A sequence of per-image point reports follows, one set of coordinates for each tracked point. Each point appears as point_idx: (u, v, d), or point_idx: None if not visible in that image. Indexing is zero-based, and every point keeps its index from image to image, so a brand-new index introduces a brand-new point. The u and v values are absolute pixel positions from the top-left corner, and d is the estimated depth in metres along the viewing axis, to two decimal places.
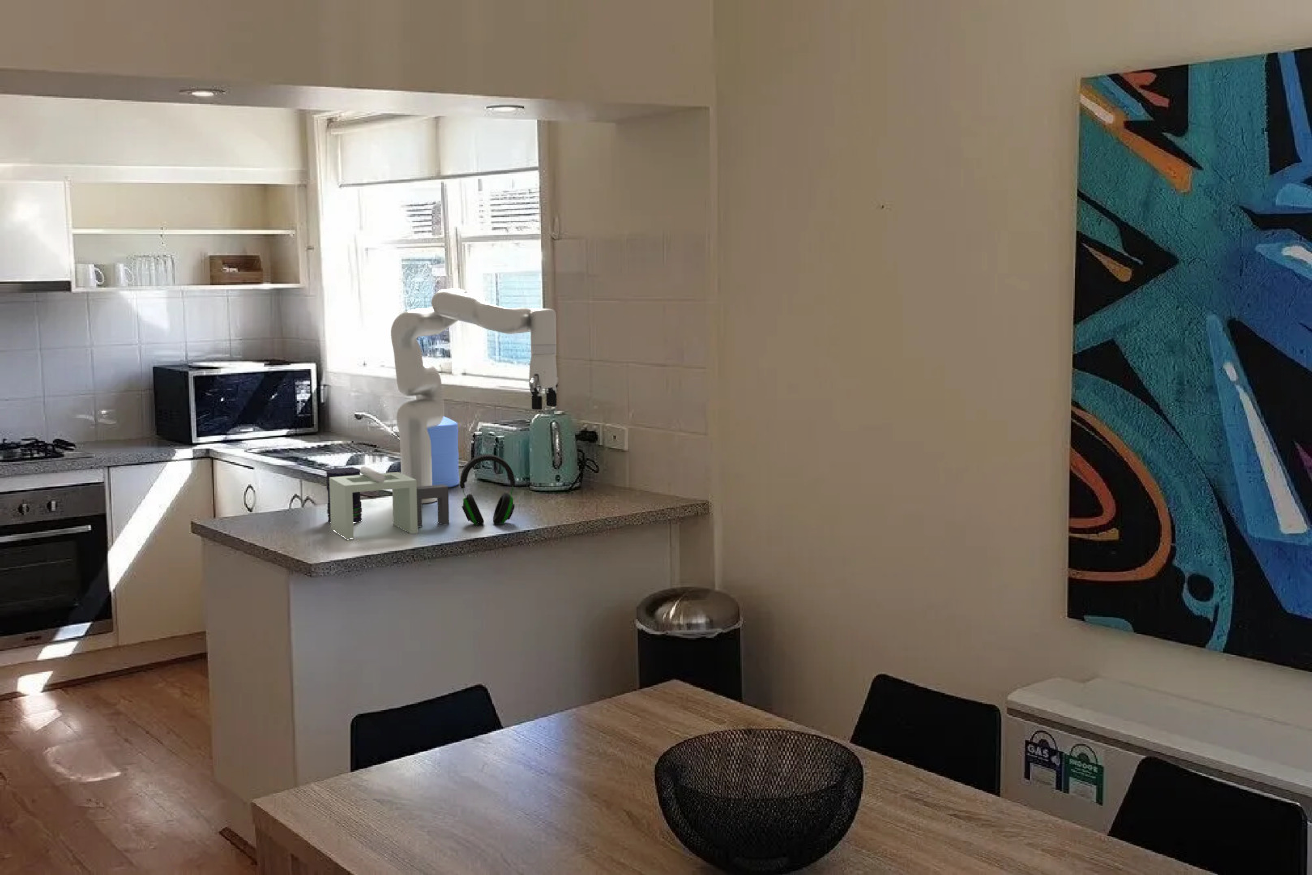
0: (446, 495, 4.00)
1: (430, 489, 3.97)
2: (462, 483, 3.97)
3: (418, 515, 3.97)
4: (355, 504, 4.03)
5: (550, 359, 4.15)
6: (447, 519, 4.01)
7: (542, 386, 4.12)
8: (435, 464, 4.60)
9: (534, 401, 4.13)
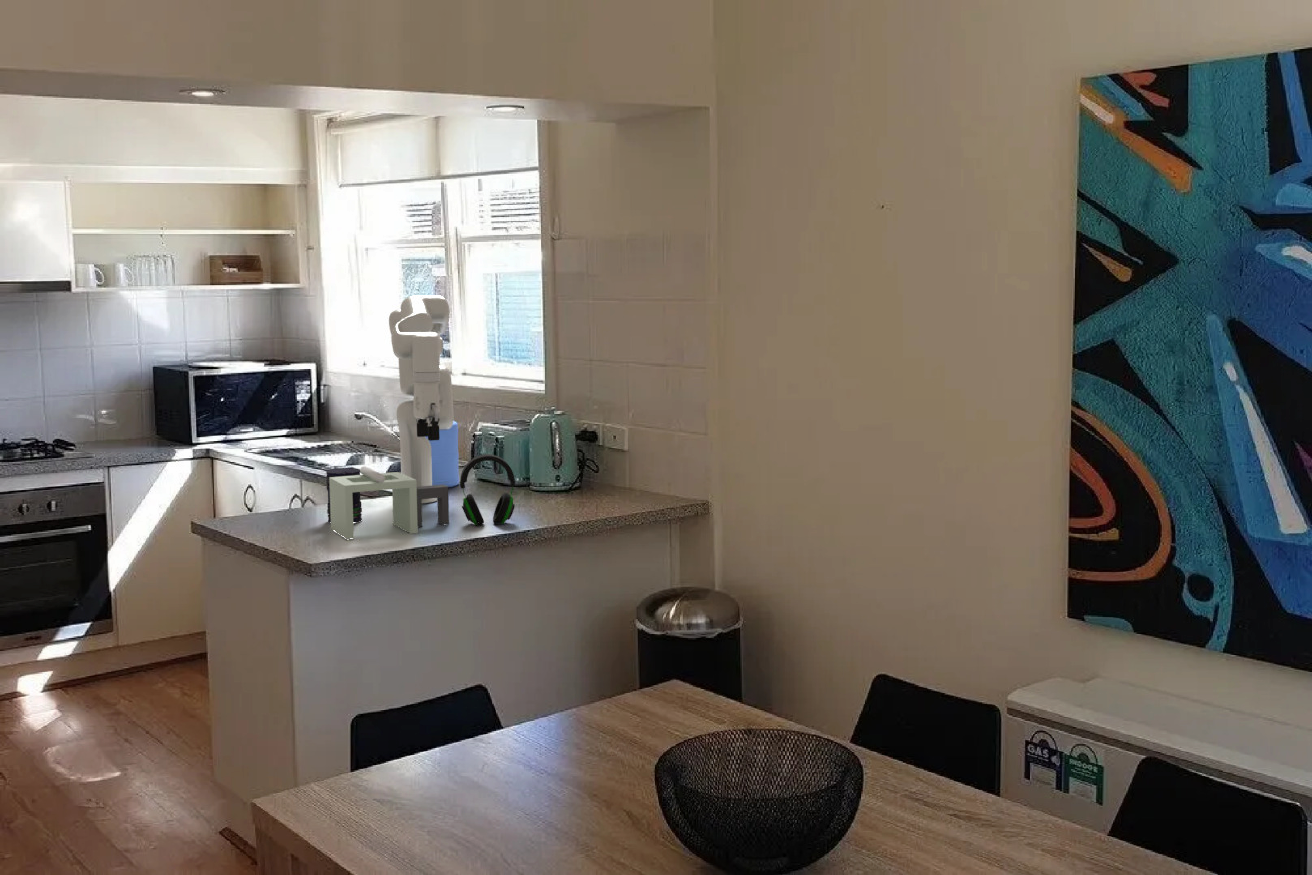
0: (446, 495, 4.00)
1: (430, 489, 3.97)
2: (462, 483, 3.97)
3: (418, 515, 3.97)
4: (355, 504, 4.03)
5: None
6: (447, 519, 4.01)
7: (438, 415, 3.93)
8: (435, 464, 4.60)
9: (433, 432, 3.92)
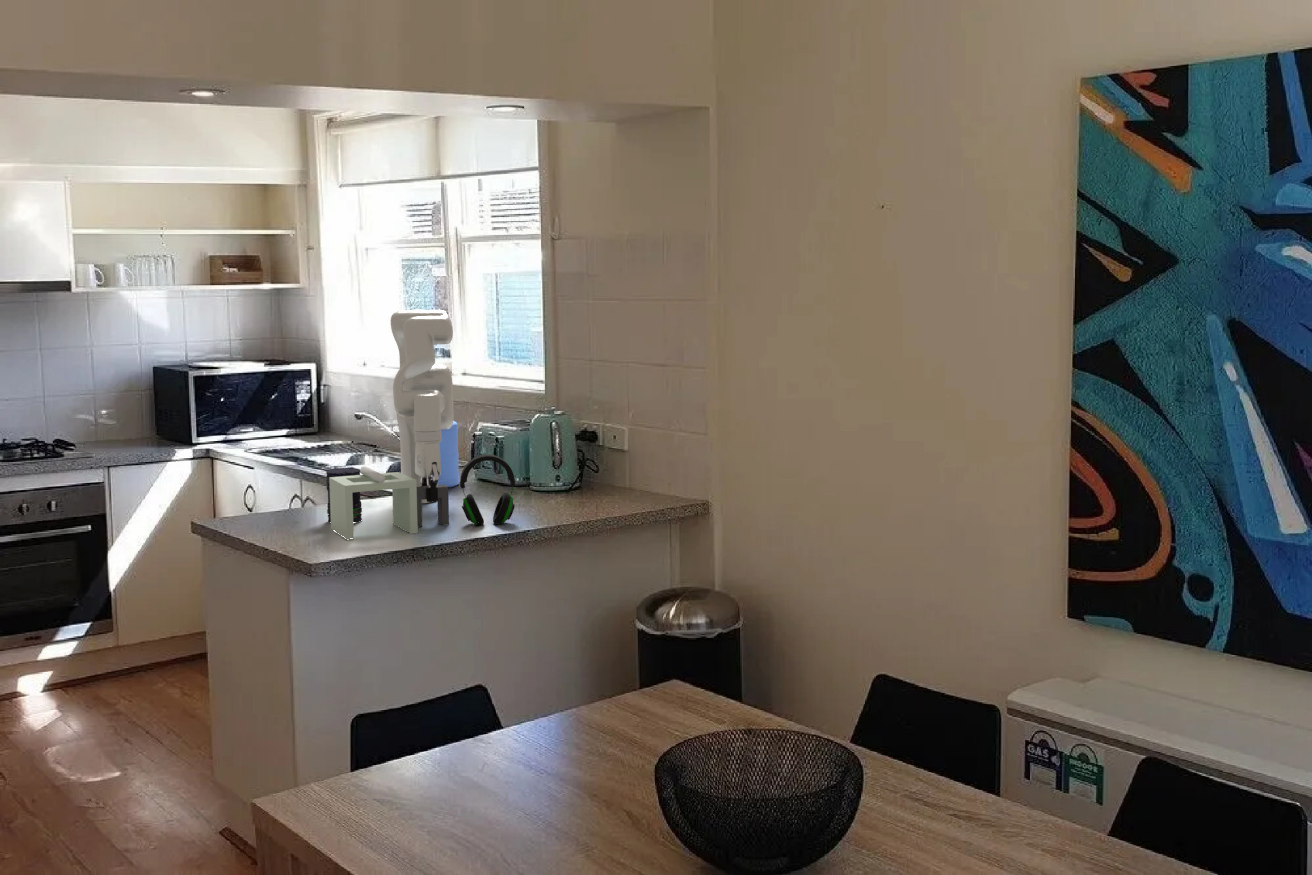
0: (446, 495, 4.00)
1: None
2: (462, 483, 3.97)
3: (418, 515, 3.97)
4: (355, 504, 4.03)
5: None
6: (447, 519, 4.01)
7: (440, 474, 3.96)
8: None
9: (432, 493, 3.96)
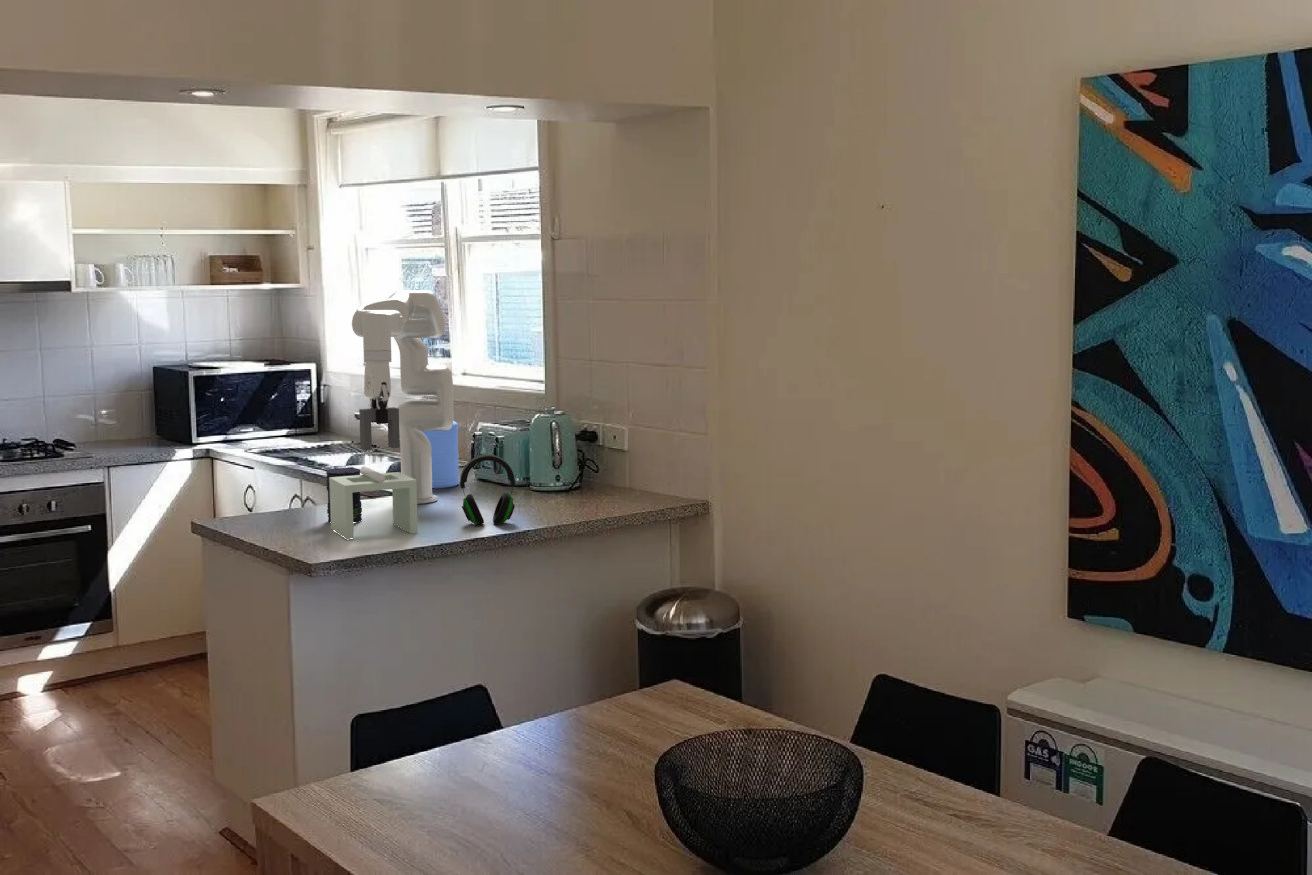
0: (397, 418, 3.89)
1: None
2: (462, 483, 3.97)
3: (367, 437, 3.85)
4: (355, 504, 4.03)
5: None
6: (398, 442, 3.90)
7: None
8: (435, 464, 4.60)
9: (381, 415, 3.85)
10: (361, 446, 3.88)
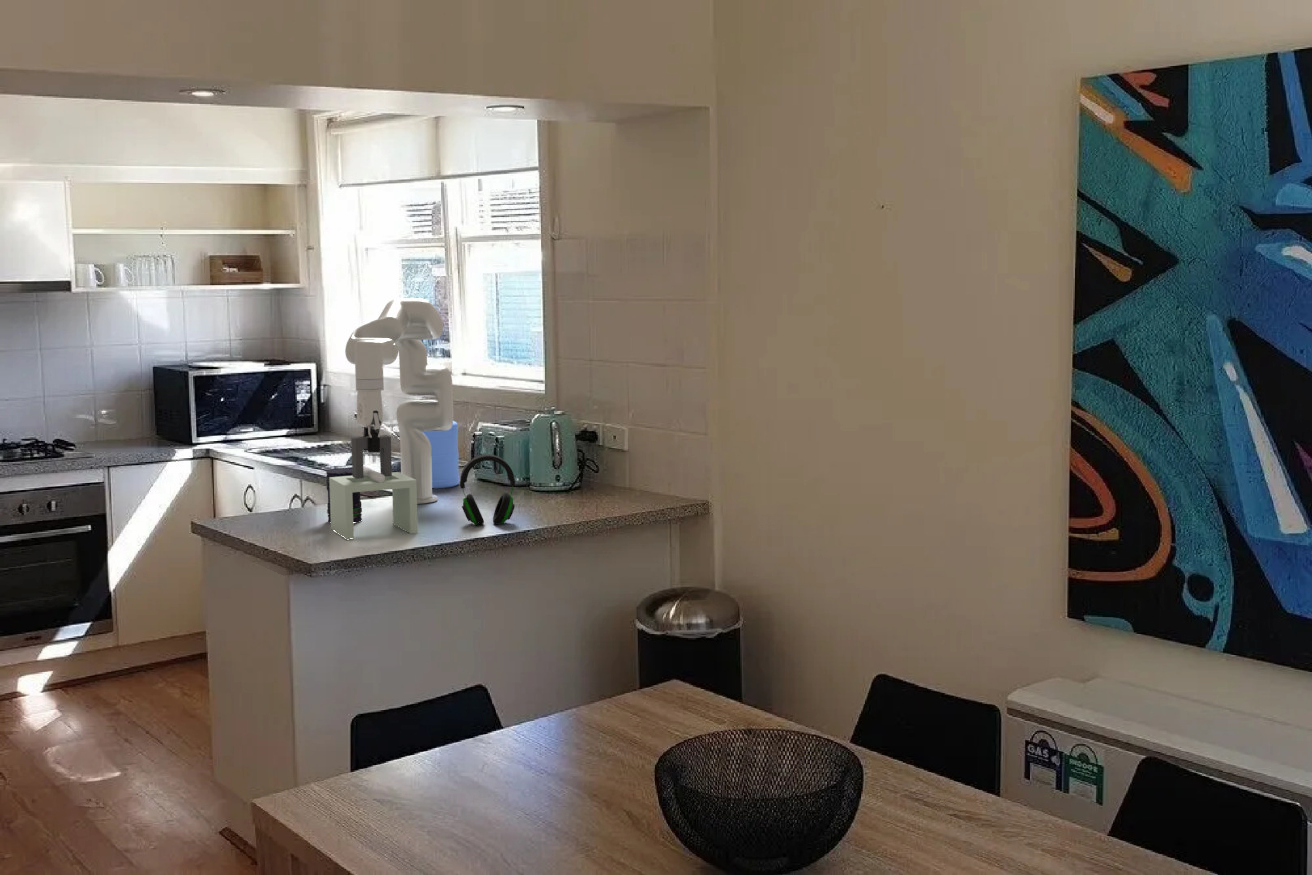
0: (389, 446, 3.88)
1: None
2: (462, 483, 3.97)
3: (359, 465, 3.85)
4: (355, 504, 4.03)
5: None
6: (390, 470, 3.89)
7: (381, 423, 3.84)
8: (435, 464, 4.60)
9: (373, 443, 3.85)
10: (353, 474, 3.87)
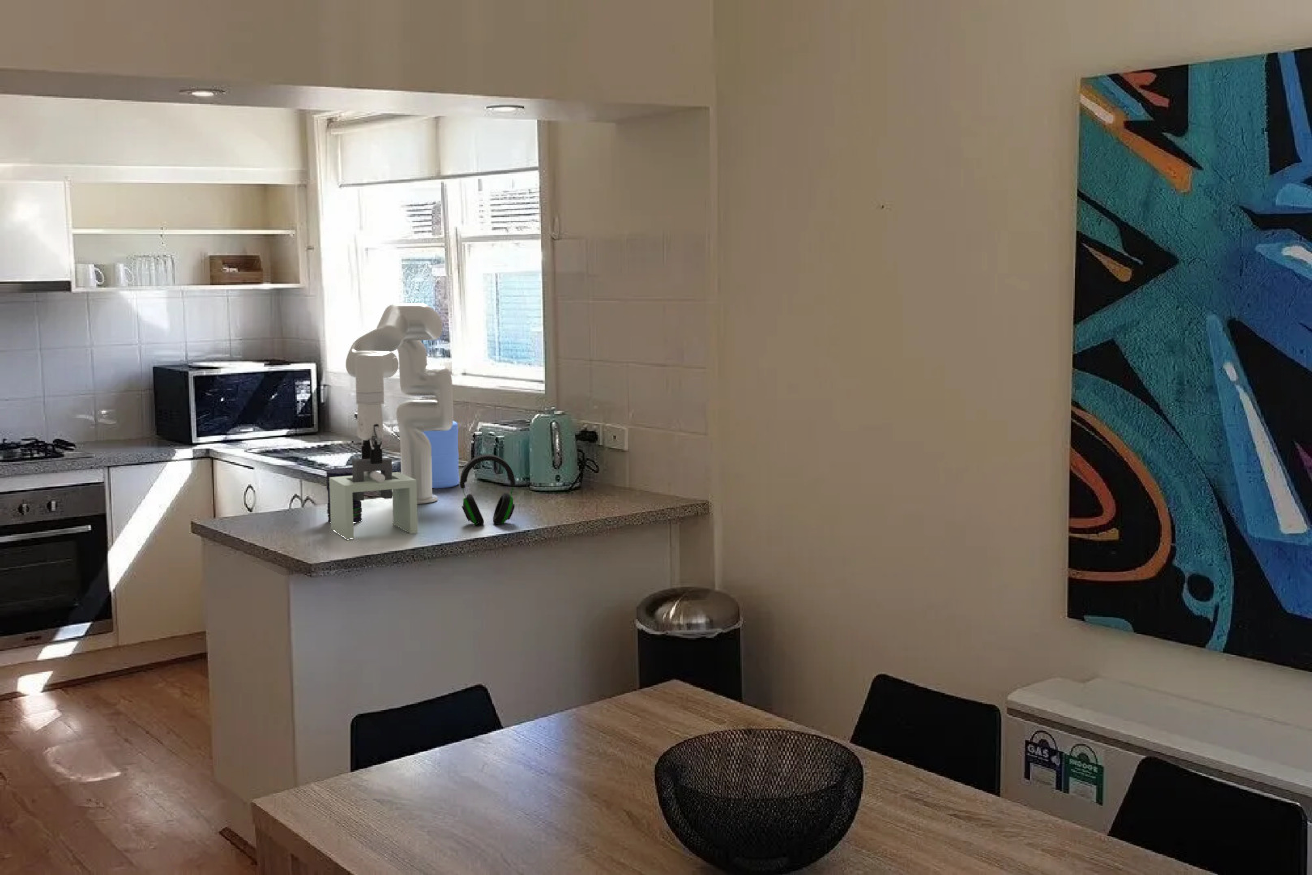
0: (390, 468, 3.89)
1: None
2: (462, 483, 3.97)
3: None
4: (355, 504, 4.03)
5: None
6: (390, 493, 3.90)
7: (382, 436, 3.84)
8: (435, 464, 4.60)
9: (376, 455, 3.84)
10: (354, 496, 3.88)
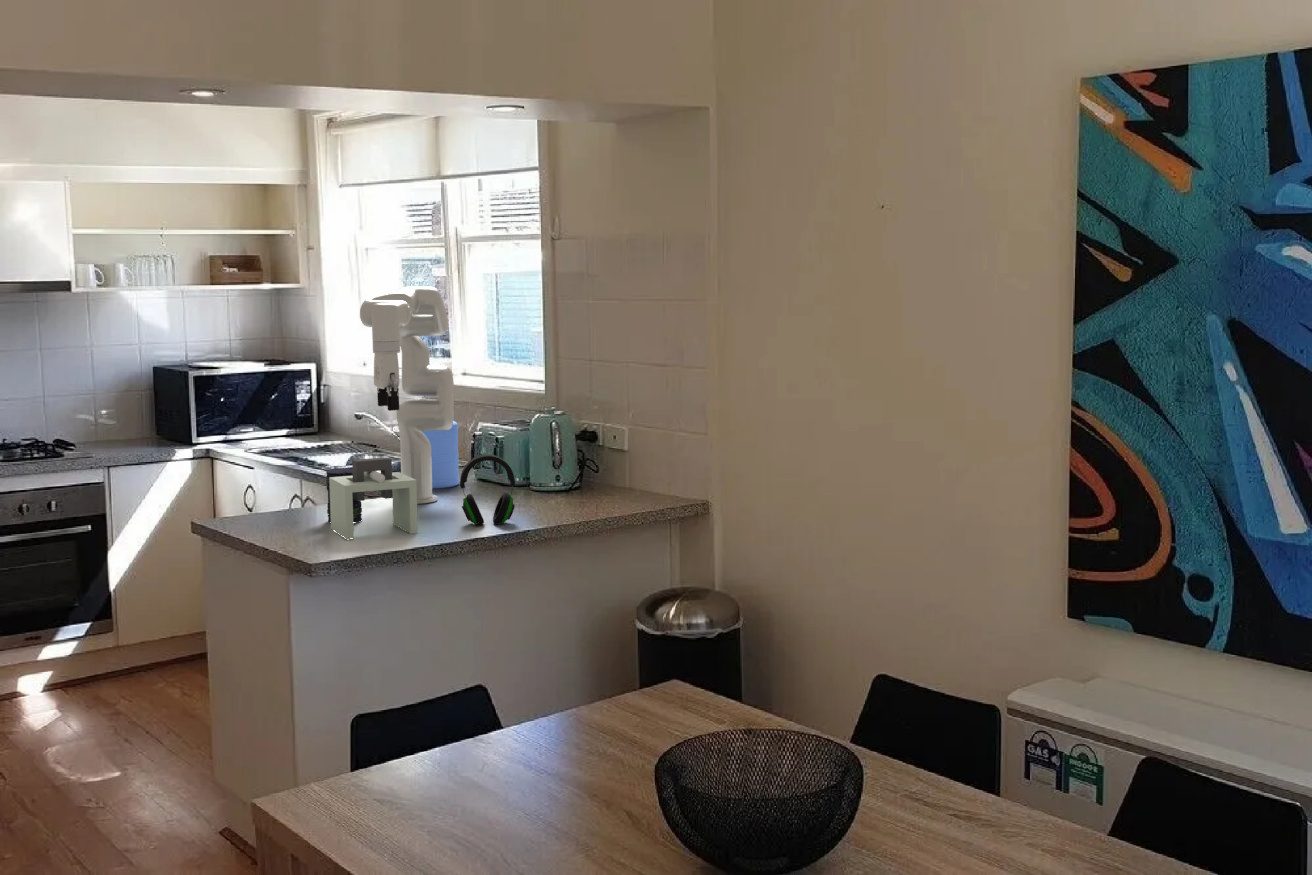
0: (390, 468, 3.89)
1: (373, 461, 3.87)
2: (462, 483, 3.97)
3: None
4: (355, 504, 4.03)
5: None
6: (390, 493, 3.90)
7: (398, 385, 3.89)
8: (435, 464, 4.60)
9: (393, 401, 3.88)
10: (354, 497, 3.88)
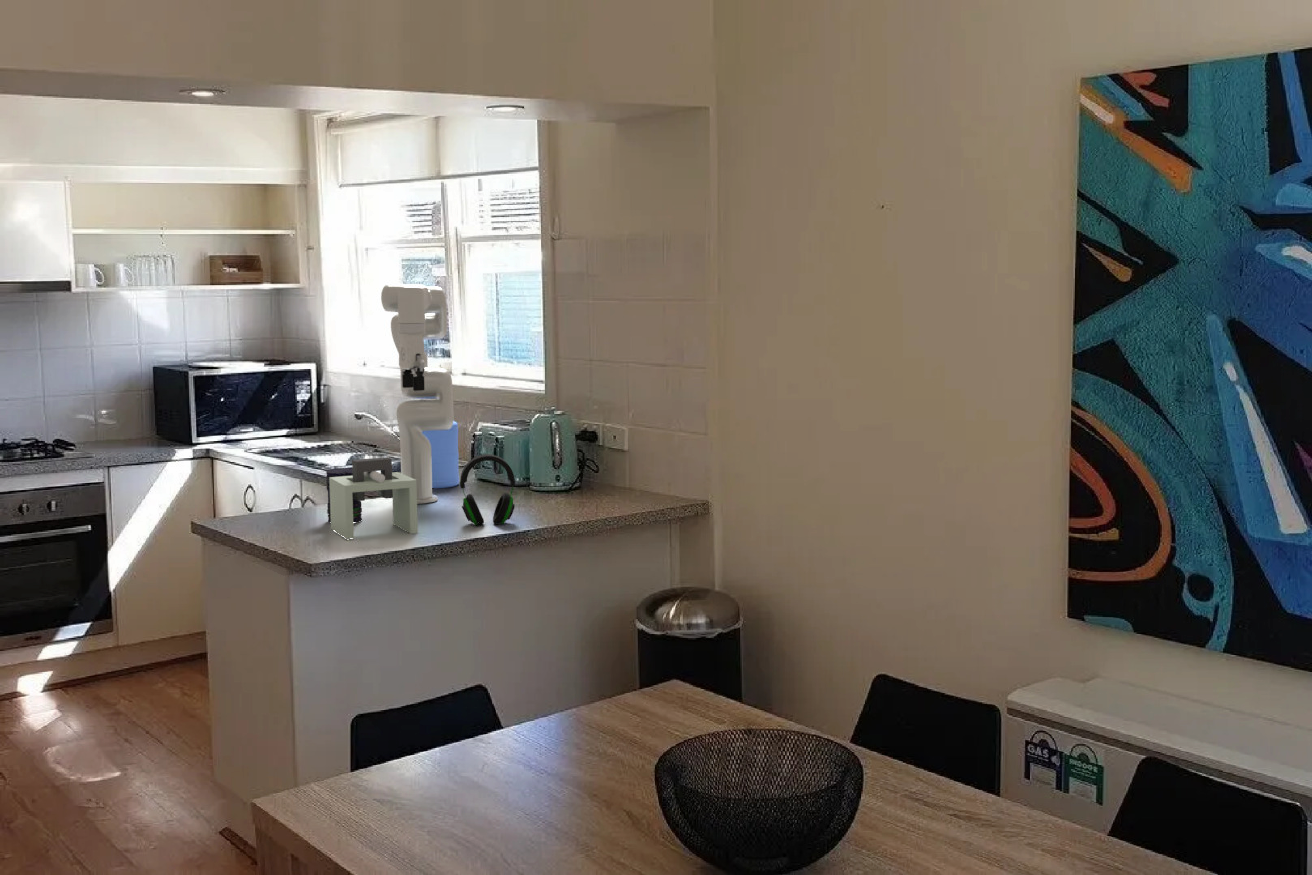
0: (390, 468, 3.89)
1: (373, 461, 3.87)
2: (462, 483, 3.97)
3: None
4: (355, 504, 4.03)
5: None
6: (391, 492, 3.90)
7: (423, 366, 3.99)
8: (435, 464, 4.60)
9: (418, 382, 3.98)
10: (354, 497, 3.88)
